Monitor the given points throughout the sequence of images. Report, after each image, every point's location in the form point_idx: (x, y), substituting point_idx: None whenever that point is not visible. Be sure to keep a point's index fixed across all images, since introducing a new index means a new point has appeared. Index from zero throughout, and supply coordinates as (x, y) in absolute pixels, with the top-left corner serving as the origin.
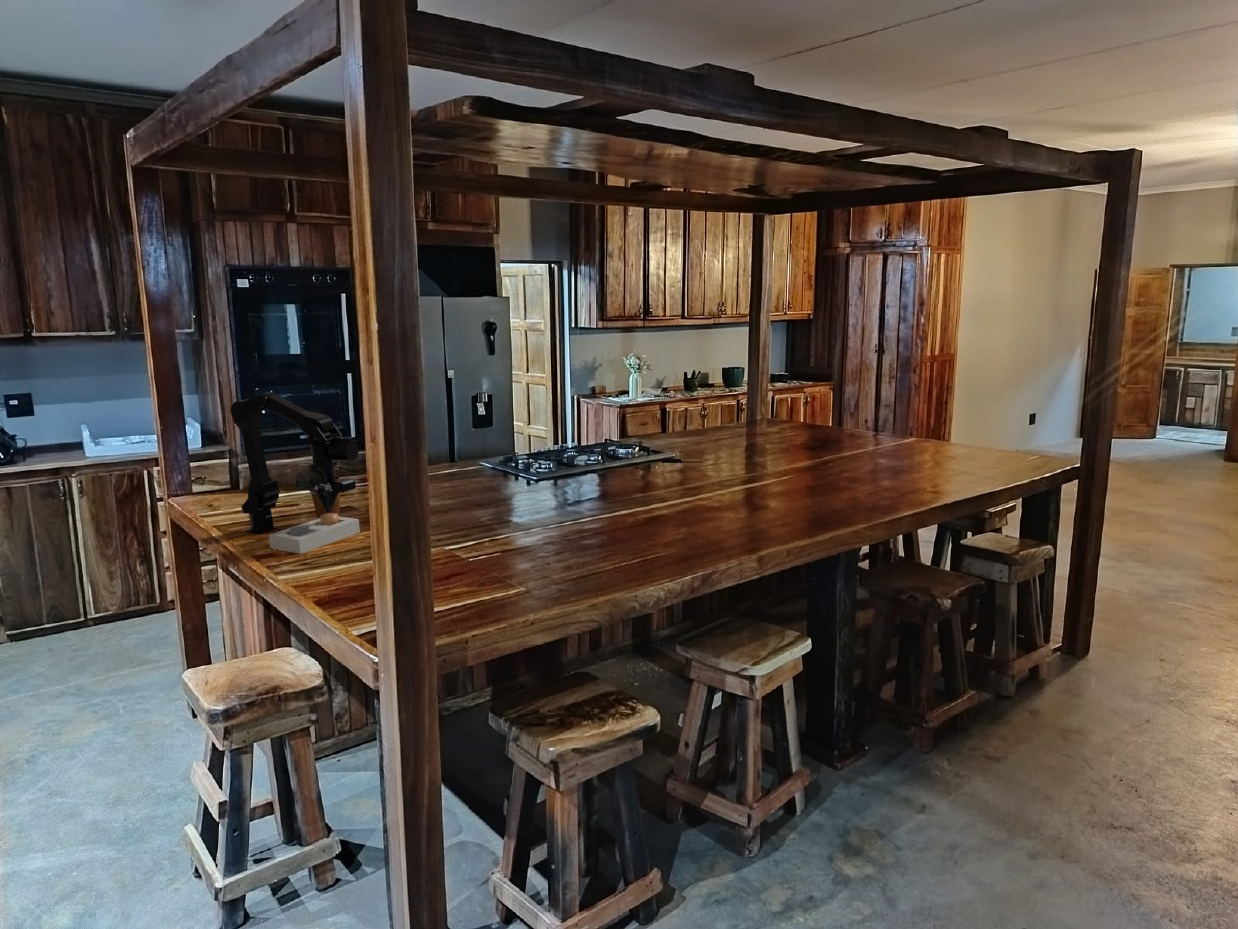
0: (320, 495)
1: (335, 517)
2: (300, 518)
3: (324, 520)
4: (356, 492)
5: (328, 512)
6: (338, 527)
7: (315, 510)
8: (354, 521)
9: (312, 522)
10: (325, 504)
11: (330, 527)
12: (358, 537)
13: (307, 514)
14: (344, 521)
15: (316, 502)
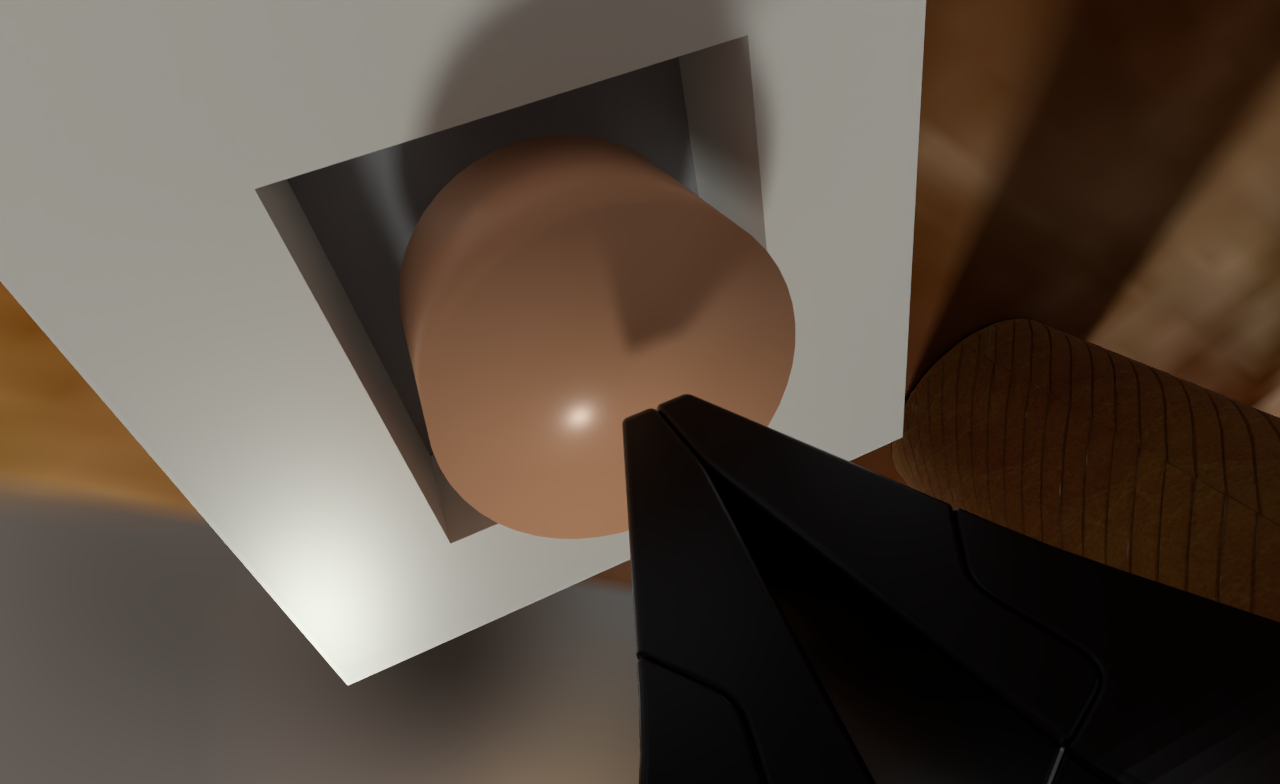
0: (1163, 749)
1: (435, 451)
2: (1262, 262)
3: (504, 212)
4: None
5: (1005, 463)
6: (55, 318)
7: (1174, 377)
8: (303, 624)
9: (827, 70)
10: (730, 533)
11: (31, 141)
12: (56, 469)
13: (1257, 347)
14: (384, 514)
15: (1251, 448)
